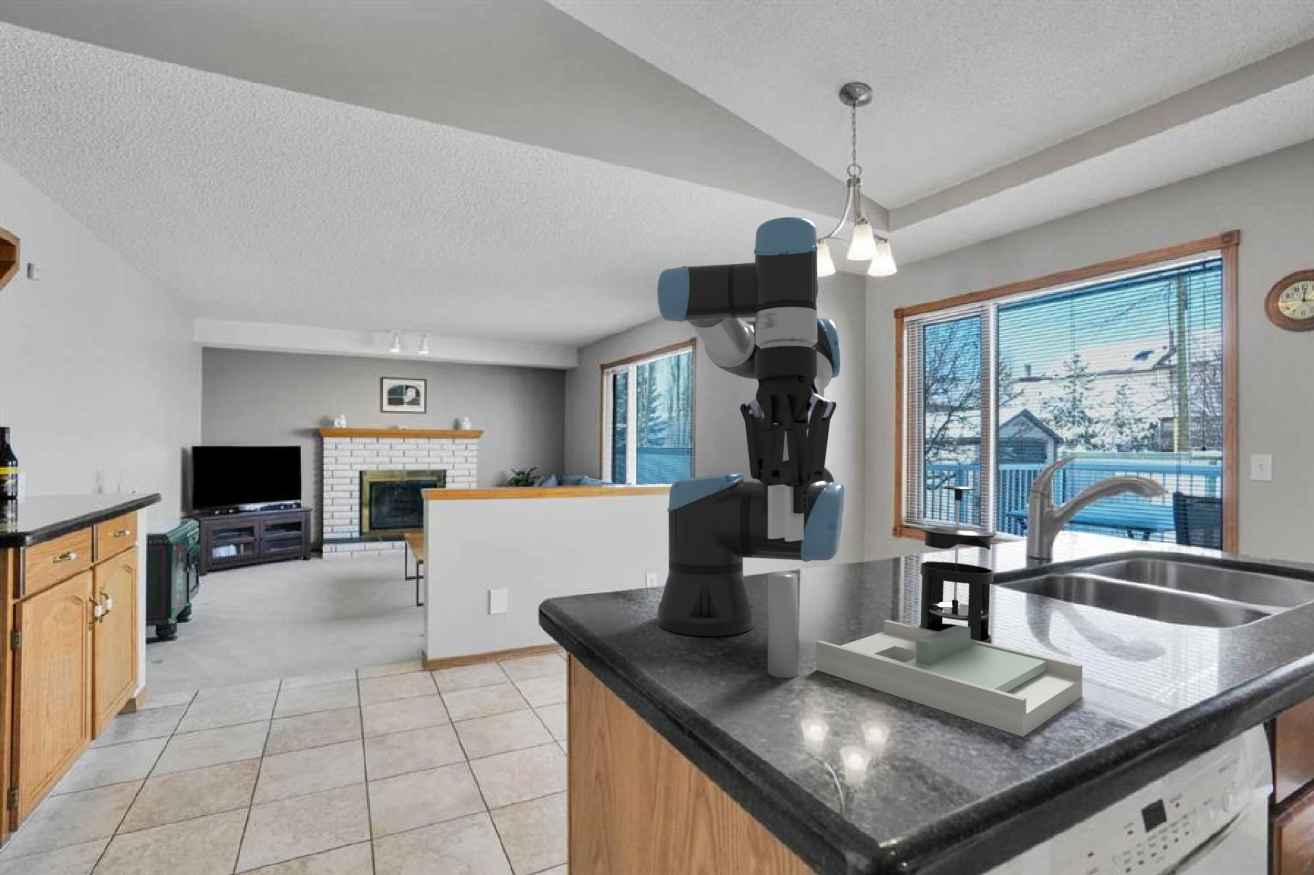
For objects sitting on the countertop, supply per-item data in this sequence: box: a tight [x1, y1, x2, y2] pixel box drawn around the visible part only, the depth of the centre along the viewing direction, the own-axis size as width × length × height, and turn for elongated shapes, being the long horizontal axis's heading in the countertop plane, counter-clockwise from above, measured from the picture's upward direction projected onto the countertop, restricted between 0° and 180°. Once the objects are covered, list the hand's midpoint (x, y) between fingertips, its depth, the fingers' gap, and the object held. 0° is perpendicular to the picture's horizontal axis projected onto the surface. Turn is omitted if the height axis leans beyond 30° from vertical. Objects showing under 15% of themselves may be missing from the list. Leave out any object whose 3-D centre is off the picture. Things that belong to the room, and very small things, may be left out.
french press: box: [918, 485, 996, 644], centre depth 89 cm, size 12×9×23 cm
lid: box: [903, 624, 1046, 692], centre depth 74 cm, size 10×14×4 cm
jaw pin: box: [767, 571, 799, 679], centre depth 80 cm, size 4×4×12 cm
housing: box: [815, 619, 1083, 738], centre depth 77 cm, size 24×16×4 cm, turn 40°
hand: (785, 538), depth 80 cm, fingers open, 2 cm apart
